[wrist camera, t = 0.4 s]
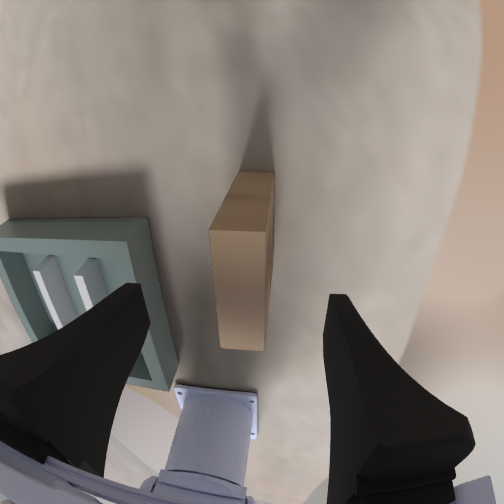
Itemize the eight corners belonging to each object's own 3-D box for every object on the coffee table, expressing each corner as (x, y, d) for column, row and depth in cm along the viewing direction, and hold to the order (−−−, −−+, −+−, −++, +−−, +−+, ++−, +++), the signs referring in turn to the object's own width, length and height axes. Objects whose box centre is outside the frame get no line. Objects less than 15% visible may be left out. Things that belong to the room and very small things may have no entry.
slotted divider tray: (178, 363, 27) (169, 391, 24) (57, 340, 28) (43, 361, 26) (147, 217, 20) (126, 241, 17) (8, 219, 21) (-15, 236, 18)
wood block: (273, 263, 21) (263, 351, 14) (241, 261, 21) (220, 347, 14) (274, 171, 18) (265, 232, 11) (239, 170, 18) (208, 230, 11)
